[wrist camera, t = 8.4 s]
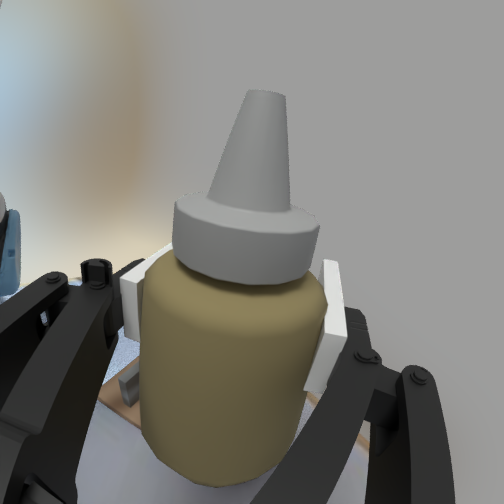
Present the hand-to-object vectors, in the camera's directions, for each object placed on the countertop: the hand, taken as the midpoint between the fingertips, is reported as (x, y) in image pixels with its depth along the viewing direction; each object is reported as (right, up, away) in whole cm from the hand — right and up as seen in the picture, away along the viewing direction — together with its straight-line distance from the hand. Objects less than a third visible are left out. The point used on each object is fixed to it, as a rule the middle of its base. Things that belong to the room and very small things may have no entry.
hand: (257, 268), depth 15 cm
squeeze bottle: (-3, -11, -1) cm, 11 cm away
